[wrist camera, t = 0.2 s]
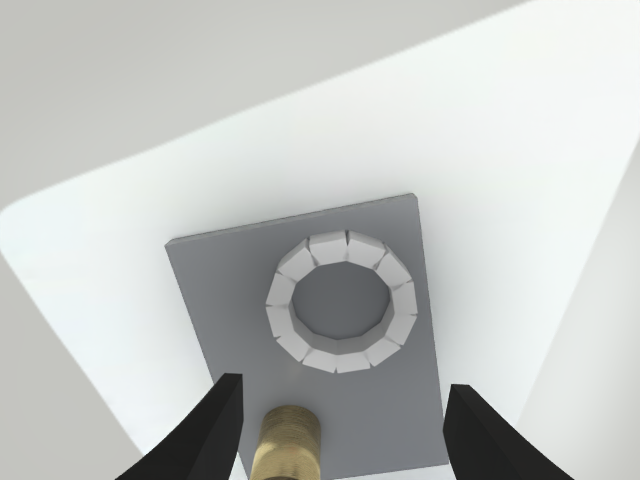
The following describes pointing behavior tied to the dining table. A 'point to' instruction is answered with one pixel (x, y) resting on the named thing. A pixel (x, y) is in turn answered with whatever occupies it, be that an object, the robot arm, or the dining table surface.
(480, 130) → the dining table surface
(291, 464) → the brass shaft
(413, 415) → the housing plate
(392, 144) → the dining table surface
